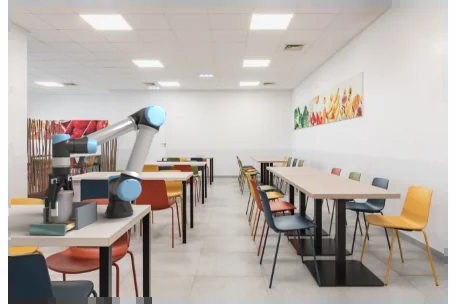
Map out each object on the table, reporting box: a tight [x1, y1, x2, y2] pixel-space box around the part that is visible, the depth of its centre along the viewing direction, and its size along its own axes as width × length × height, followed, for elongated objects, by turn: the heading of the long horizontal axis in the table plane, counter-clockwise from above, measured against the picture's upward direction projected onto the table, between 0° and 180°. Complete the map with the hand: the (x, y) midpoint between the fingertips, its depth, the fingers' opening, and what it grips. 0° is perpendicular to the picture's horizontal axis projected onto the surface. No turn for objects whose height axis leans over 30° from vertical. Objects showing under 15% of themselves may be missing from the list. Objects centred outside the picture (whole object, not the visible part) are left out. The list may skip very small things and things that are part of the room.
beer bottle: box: [44, 173, 55, 208], centre depth 173 cm, size 8×8×24 cm
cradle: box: [42, 201, 98, 231], centre depth 149 cm, size 18×17×10 cm
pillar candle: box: [48, 189, 74, 222], centre depth 141 cm, size 10×10×15 cm
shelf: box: [29, 218, 76, 236], centre depth 140 cm, size 18×16×4 cm
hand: (61, 213), depth 141 cm, fingers closed on pillar candle, 10 cm apart
